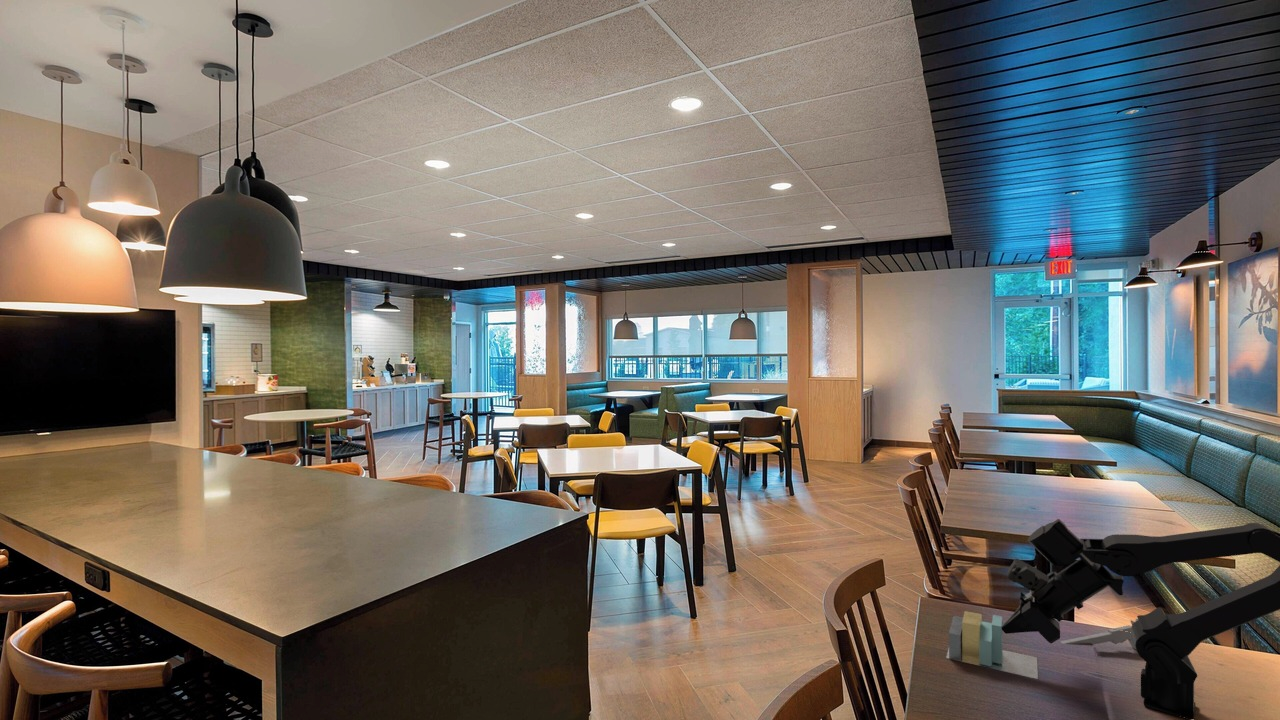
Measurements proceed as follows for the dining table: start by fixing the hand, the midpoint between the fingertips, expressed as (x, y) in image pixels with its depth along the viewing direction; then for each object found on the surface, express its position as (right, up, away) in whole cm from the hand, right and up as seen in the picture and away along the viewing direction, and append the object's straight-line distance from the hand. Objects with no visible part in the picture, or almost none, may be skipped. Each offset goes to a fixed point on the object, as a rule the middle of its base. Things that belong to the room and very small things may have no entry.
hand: (1003, 630), depth 117 cm
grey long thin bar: (+23, -7, +7) cm, 25 cm away
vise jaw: (-2, -5, +1) cm, 6 cm away
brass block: (-4, -6, +3) cm, 8 cm away
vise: (-2, -7, +1) cm, 8 cm away
